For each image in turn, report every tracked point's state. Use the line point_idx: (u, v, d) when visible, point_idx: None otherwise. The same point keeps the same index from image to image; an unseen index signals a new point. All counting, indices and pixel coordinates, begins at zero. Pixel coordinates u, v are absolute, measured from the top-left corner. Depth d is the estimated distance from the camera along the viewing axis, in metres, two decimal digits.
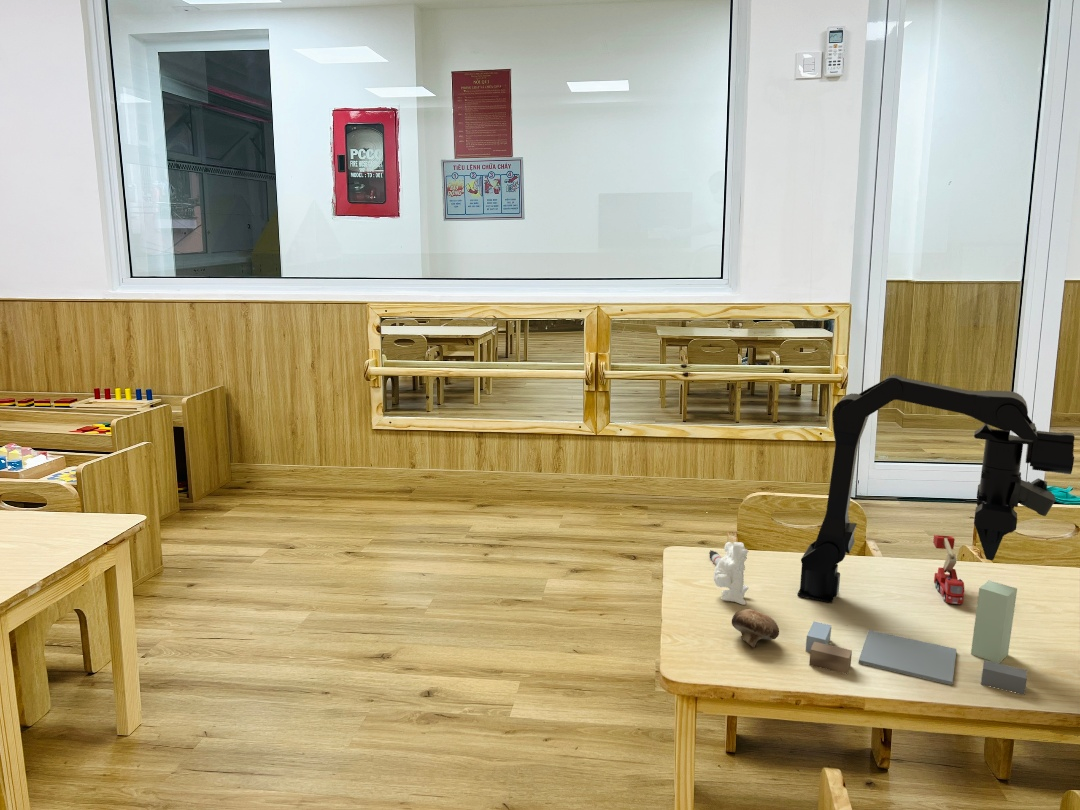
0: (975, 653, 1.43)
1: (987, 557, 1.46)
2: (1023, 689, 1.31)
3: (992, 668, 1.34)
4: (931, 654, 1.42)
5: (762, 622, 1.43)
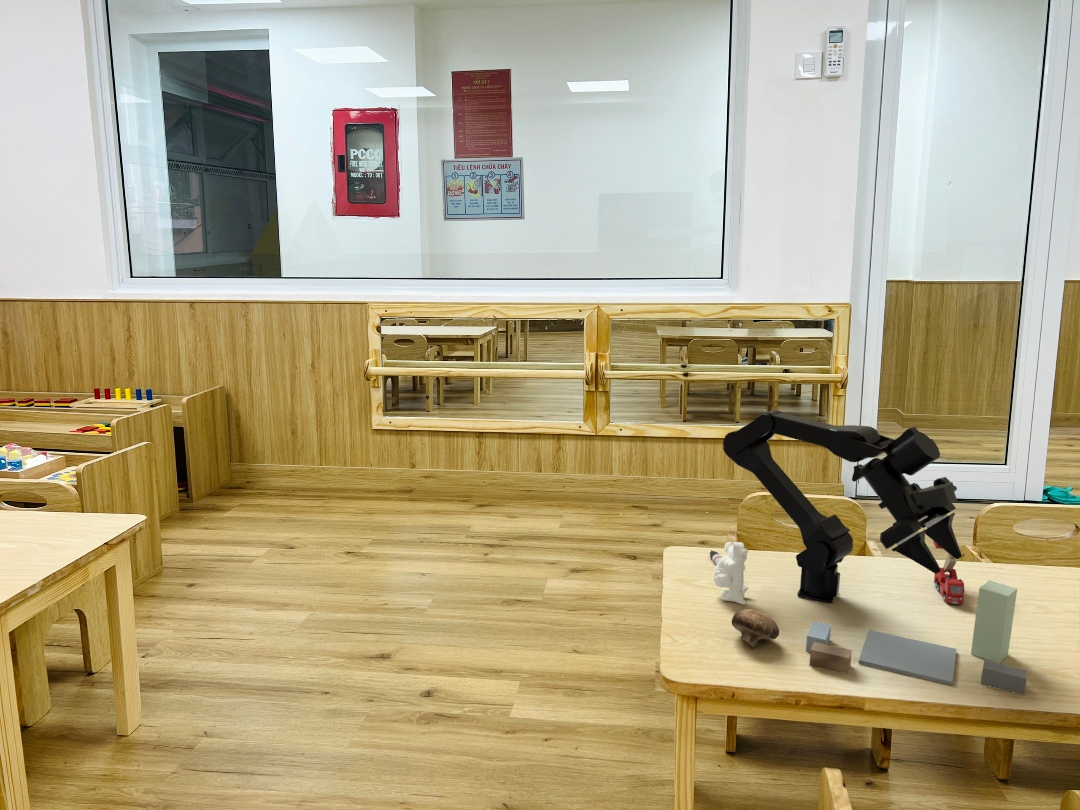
0: (975, 653, 1.43)
1: (934, 571, 1.43)
2: (1023, 689, 1.31)
3: (992, 667, 1.34)
4: (931, 654, 1.42)
5: (762, 622, 1.43)
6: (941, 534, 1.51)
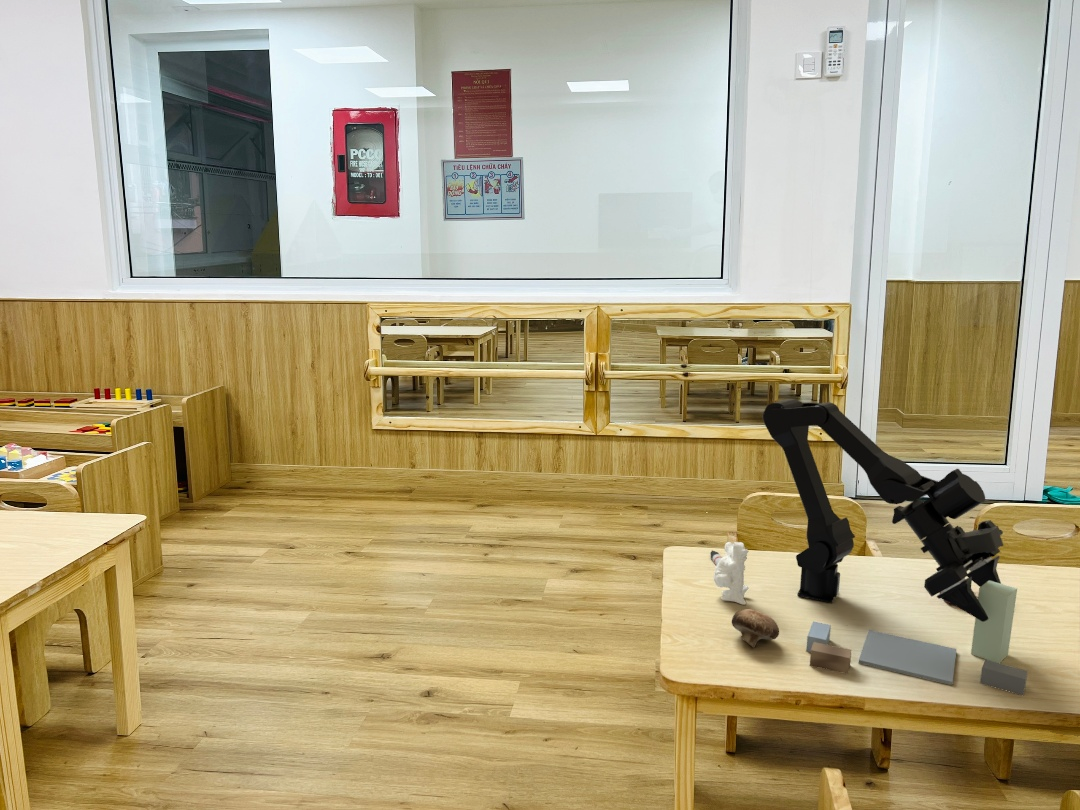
0: (975, 653, 1.43)
1: (981, 619, 1.39)
2: (1022, 689, 1.31)
3: (991, 667, 1.34)
4: (931, 654, 1.42)
5: (762, 622, 1.43)
6: (986, 578, 1.47)
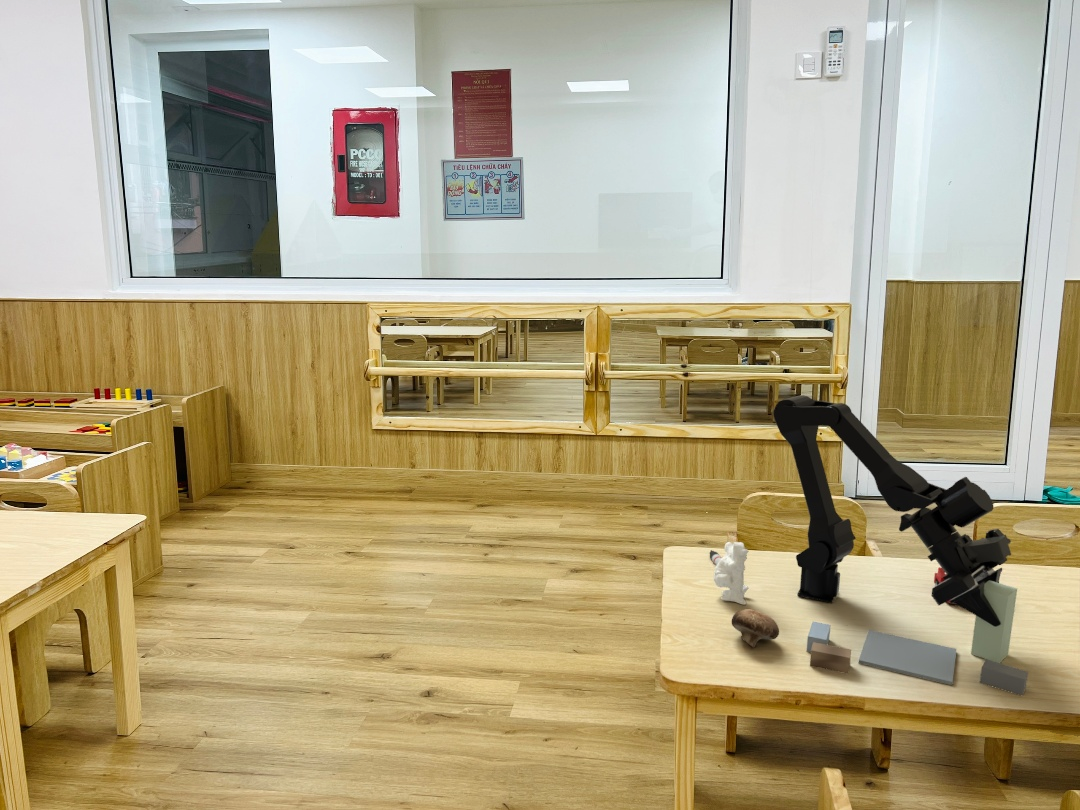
0: (975, 653, 1.43)
1: (993, 624, 1.40)
2: (1021, 690, 1.31)
3: (991, 667, 1.34)
4: (931, 654, 1.42)
5: (762, 622, 1.43)
6: None
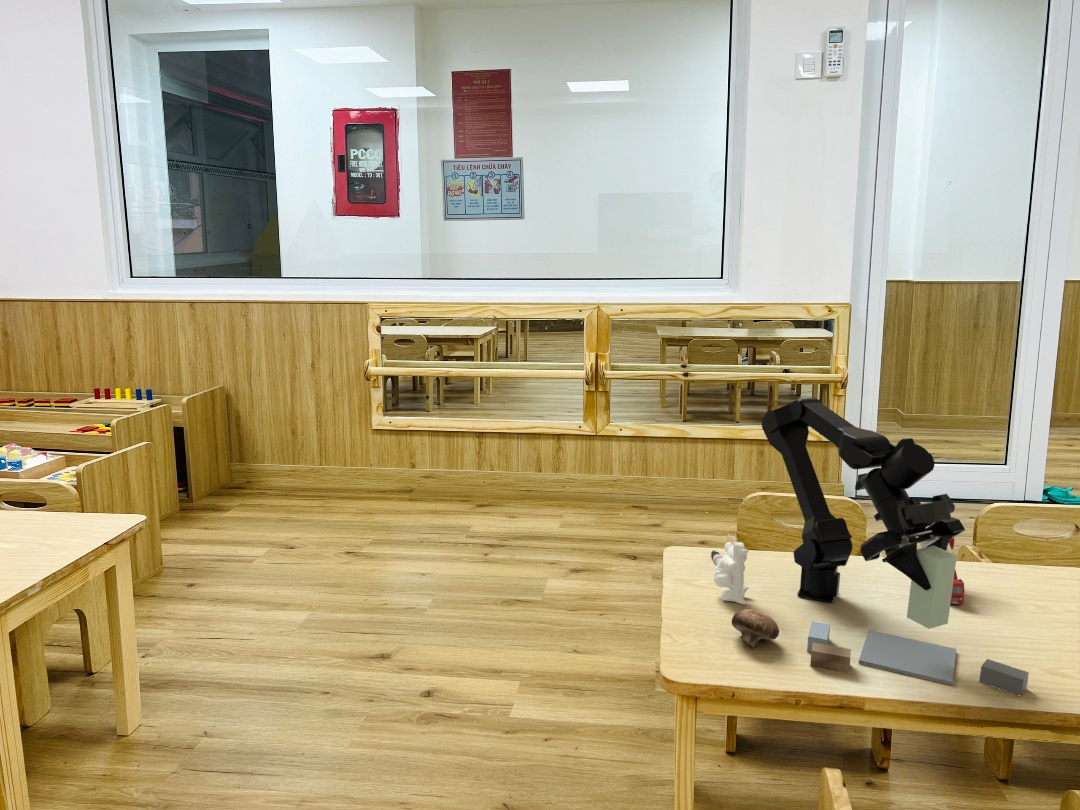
0: (910, 617, 1.41)
1: (924, 588, 1.37)
2: (1020, 690, 1.31)
3: (991, 666, 1.34)
4: (931, 654, 1.42)
5: (762, 622, 1.43)
6: None
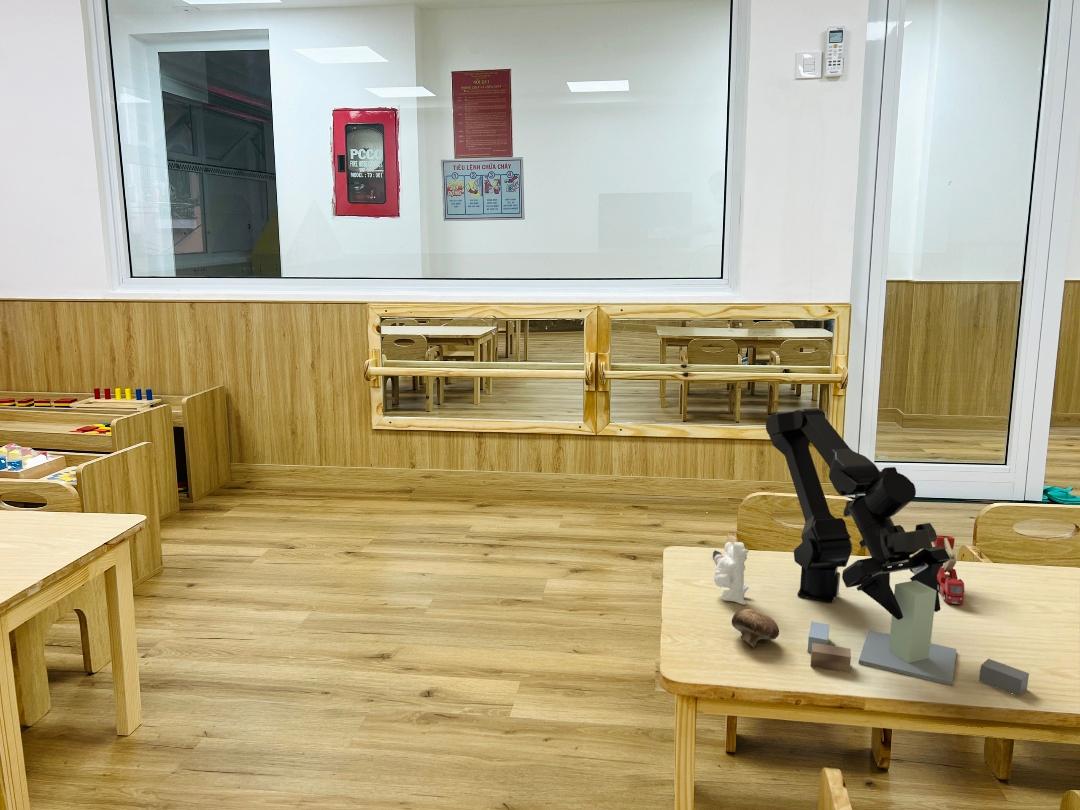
0: (891, 650, 1.42)
1: (896, 617, 1.38)
2: (1018, 690, 1.31)
3: (991, 666, 1.34)
4: (931, 654, 1.42)
5: (762, 622, 1.43)
6: (924, 583, 1.43)
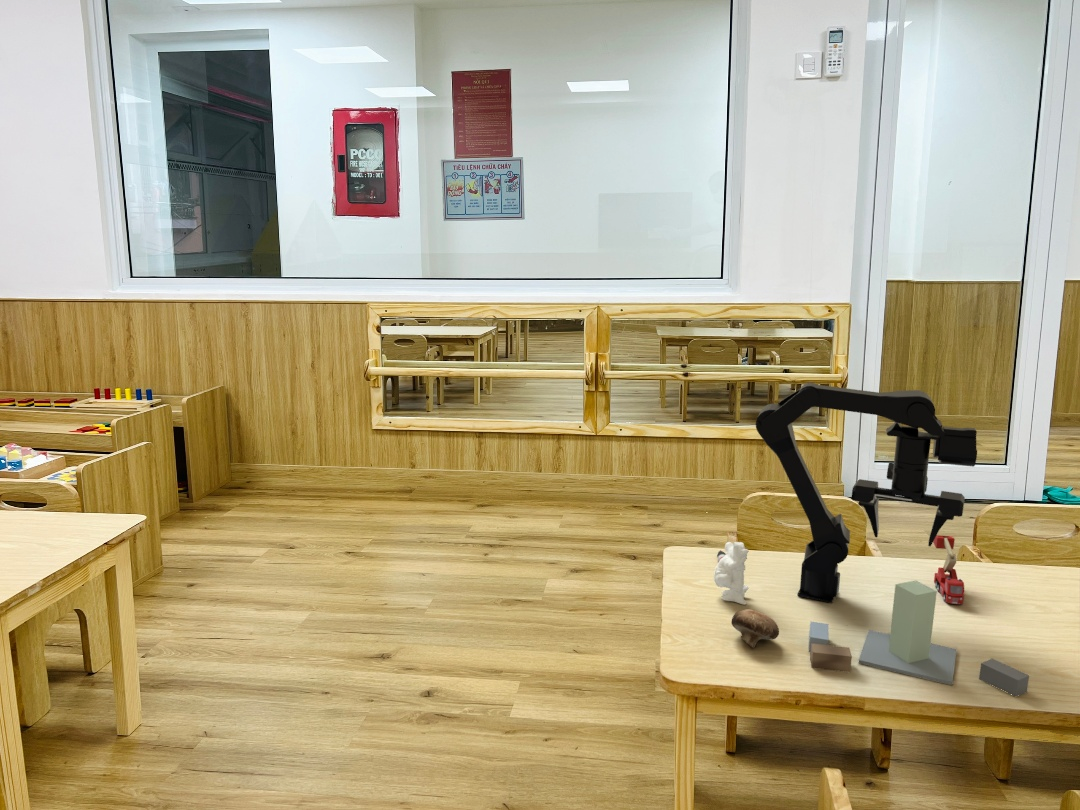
0: (891, 650, 1.42)
1: None
2: (1015, 690, 1.31)
3: (991, 665, 1.34)
4: (931, 654, 1.42)
5: (762, 622, 1.43)
6: (877, 512, 1.59)
